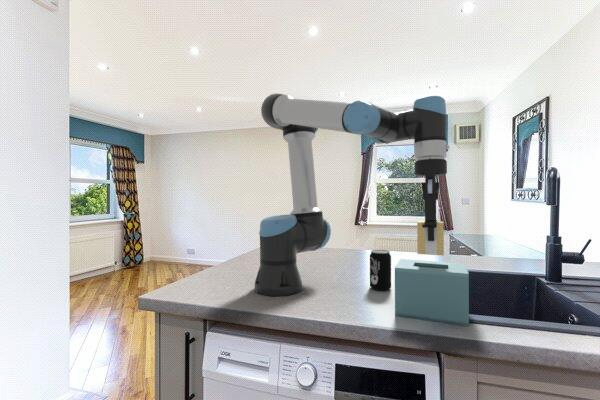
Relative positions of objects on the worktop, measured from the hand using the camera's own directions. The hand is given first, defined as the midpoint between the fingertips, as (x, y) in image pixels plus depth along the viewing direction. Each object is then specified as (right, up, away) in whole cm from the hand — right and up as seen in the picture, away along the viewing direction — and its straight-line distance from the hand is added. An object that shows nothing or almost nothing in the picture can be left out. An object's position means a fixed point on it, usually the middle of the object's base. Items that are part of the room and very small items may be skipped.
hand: (431, 252), depth 78 cm
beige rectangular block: (0, 0, 0) cm, 0 cm away
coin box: (0, -15, 0) cm, 15 cm away
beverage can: (-7, -15, +21) cm, 27 cm away
